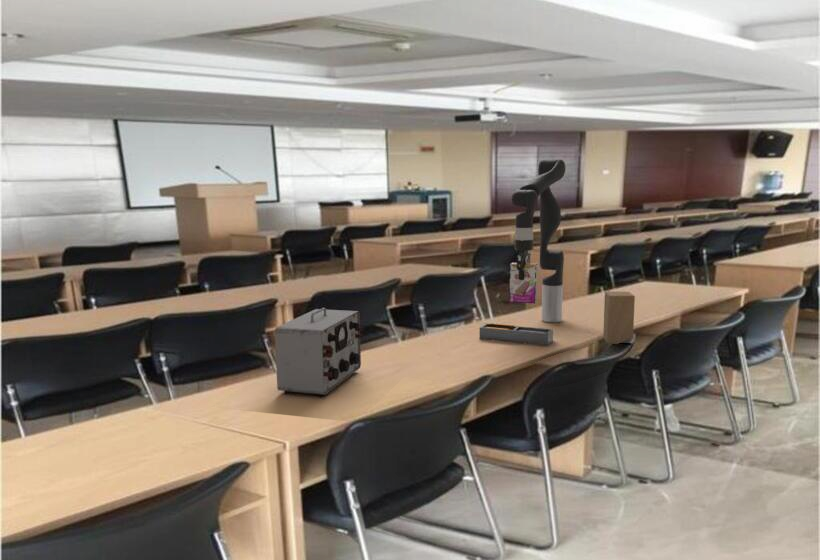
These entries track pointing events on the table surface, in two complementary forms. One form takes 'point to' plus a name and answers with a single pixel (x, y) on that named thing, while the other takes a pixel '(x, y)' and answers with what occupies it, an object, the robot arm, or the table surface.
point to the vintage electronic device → (317, 351)
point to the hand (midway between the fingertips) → (523, 278)
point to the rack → (516, 334)
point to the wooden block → (618, 317)
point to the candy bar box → (523, 284)
